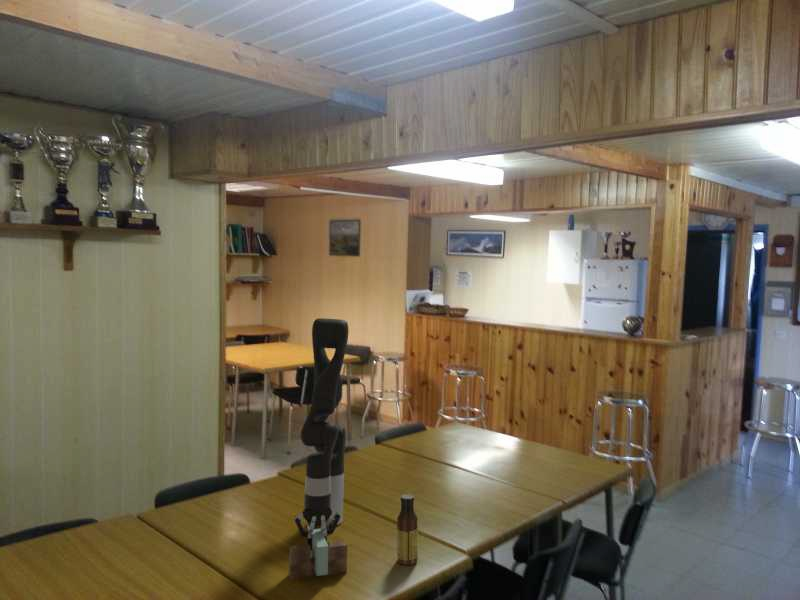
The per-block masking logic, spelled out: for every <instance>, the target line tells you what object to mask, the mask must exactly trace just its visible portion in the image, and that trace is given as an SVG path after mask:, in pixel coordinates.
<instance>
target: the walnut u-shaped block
mask: <svg viewBox="0 0 800 600" xmlns="http://www.w3.org/2000/svg"><path fill="white" fill-rule="evenodd" d="M327 544H328V575H327V576H330V575H338V574H340V575H341V574H345V573H346V574H347V572H348V543H347V541H345V540H340V541H331V542H327ZM288 563H289V565H288V569H289V570H288V571H289V572H288V575H289V578H290V580H297V579H307V578H312V577H313V578H314V577H318V576H317V575H316V572H315V558H311V548H310V545H306V544H302V545H292V546H289V560H288ZM321 576H324V575H320V576H319V577H321Z"/></svg>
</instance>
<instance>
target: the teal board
mask: <svg viewBox="0 0 800 600" xmlns="http://www.w3.org/2000/svg"><path fill="white" fill-rule="evenodd" d="M327 543H328V542H326V540H325V537H324V535H323V533H322V531H321V528H315V529H314V530H313V533H312V551H311V558H315V572H316V575H317V576H316V577H321V576H320V575H323V576H329V575H328V544H327Z"/></svg>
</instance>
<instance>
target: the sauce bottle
mask: <svg viewBox="0 0 800 600" xmlns="http://www.w3.org/2000/svg"><path fill="white" fill-rule="evenodd" d="M400 502H401V503H400V505H401V508H400V512H399V513H398V515H397V518H396V519H397V520H396V521H397V525H396V554H397V562H398V563H399V564H401V565H404V564H405V566H411V565H415V564H417V563H418V556H419V532H418V531H419V530H418V529H419V527H418V526H419V525H418V516H417V515H416V513H415V510H414V505H415V504H414V502H415V497H414V495H413V494H410V493H409V494H406V493H405V494H402V495H401V496H400Z"/></svg>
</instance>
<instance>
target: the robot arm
mask: <svg viewBox="0 0 800 600" xmlns="http://www.w3.org/2000/svg"><path fill="white" fill-rule="evenodd" d="M348 341H349V324H348V322H347V321H346V319H339V318H338V319H337V318H325V317H319V318H316V319H314V321H313V324H312V327H311V342H312V352H313V365H314V367H313V371H314V372H313V389H312V395H311V403H310V409H309V411H308V413H307V416H306V419H305V421H304V423H303V425H302V428H301V431H300V440H301V442H302V444H303V445H304V446H305V447H314V450H315V451H316V452H315V453H310V454H309V455H308V456H307V458H306V469H305V470H306V471H305V475H306V476H305V481H304V509H303V510H302V513H301V514H299V515H294V516H293V520H294V522H295V525H296V526H297V529H298V532H299V533H300V535H301V538H306V544H305V545H310V548H311V551H312V533H313V530H314V528H315V527H317V526H319V527H320V529H321V531H322V533H323V535H324V537H325V540H326V542H327V540H328V536H329V535H333V534H334V532H335V529H336V527H337V526H338V525H340V524H342V522H343V519H344V518H343V516H344V490H345V489H344V488H345V486H344V482H345V480H344V479H345V453H346V452H345V451H346V442H347V441H346V440H347V433H346V432H347V431H346V428H345V426H343V425H336V424H335V423H334V422H326V421H327V419H328V418H329V417H330V415H333V414H334V413H335V409H336V408H337V407H338V406H339V404H340V403H341V401H342V397H343V379H342V376H341V371H342V367H343V364H344V359H345V355H346V350H347V346H348ZM326 349H334V352H333V356H332V358H331V360H330V358H329V356H328V355H327V352H326ZM333 454H334V455H333ZM304 519H305V521H306V523H307V524H306V525H307V528H306V530H305V529H304V527H303V522H304ZM327 543H328V542H327Z"/></svg>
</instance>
